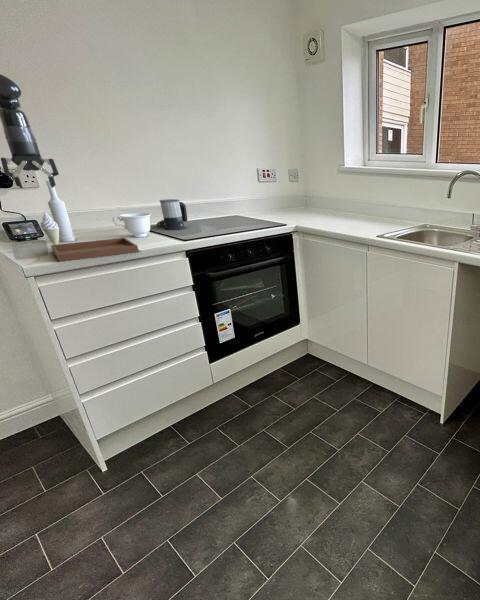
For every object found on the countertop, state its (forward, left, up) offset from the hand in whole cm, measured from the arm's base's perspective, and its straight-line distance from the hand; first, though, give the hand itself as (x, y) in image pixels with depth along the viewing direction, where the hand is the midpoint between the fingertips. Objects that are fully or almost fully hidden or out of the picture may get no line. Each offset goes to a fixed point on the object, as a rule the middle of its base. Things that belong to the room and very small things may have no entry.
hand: (37, 187), depth 132 cm
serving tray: (+10, -15, -24) cm, 30 cm away
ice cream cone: (0, 0, -24) cm, 24 cm away
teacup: (+29, +10, -24) cm, 39 cm away
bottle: (+5, +16, -24) cm, 29 cm away
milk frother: (+48, +26, -24) cm, 60 cm away
